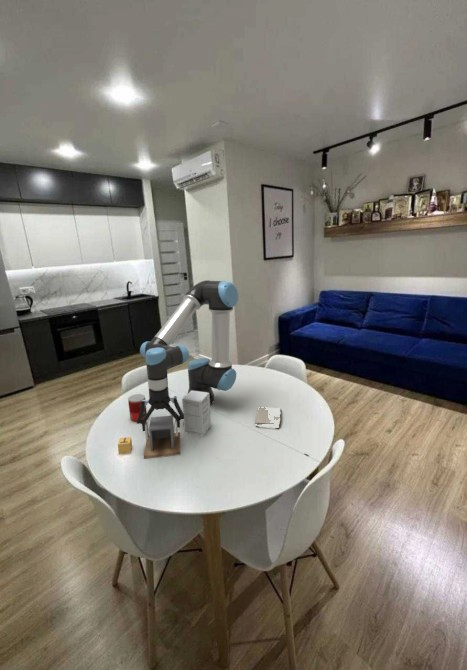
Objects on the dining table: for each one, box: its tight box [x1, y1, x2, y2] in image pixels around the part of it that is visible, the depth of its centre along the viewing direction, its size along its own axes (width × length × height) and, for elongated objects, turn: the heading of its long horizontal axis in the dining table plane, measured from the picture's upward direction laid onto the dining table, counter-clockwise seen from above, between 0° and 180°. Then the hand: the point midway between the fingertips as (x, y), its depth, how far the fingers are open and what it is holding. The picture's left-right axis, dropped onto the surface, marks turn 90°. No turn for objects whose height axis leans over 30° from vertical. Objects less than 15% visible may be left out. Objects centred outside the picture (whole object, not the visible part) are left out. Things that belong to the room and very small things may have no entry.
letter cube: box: [117, 436, 133, 455], centre depth 123 cm, size 4×4×5 cm
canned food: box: [127, 393, 148, 423], centre depth 146 cm, size 8×8×11 cm
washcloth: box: [254, 406, 280, 425], centre depth 146 cm, size 12×18×3 cm, turn 170°
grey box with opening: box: [148, 414, 175, 451], centre depth 124 cm, size 9×9×10 cm
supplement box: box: [181, 390, 212, 437], centre depth 136 cm, size 10×9×17 cm
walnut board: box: [143, 431, 181, 459], centre depth 126 cm, size 14×14×1 cm
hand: (162, 435), depth 125 cm, fingers open, 11 cm apart
